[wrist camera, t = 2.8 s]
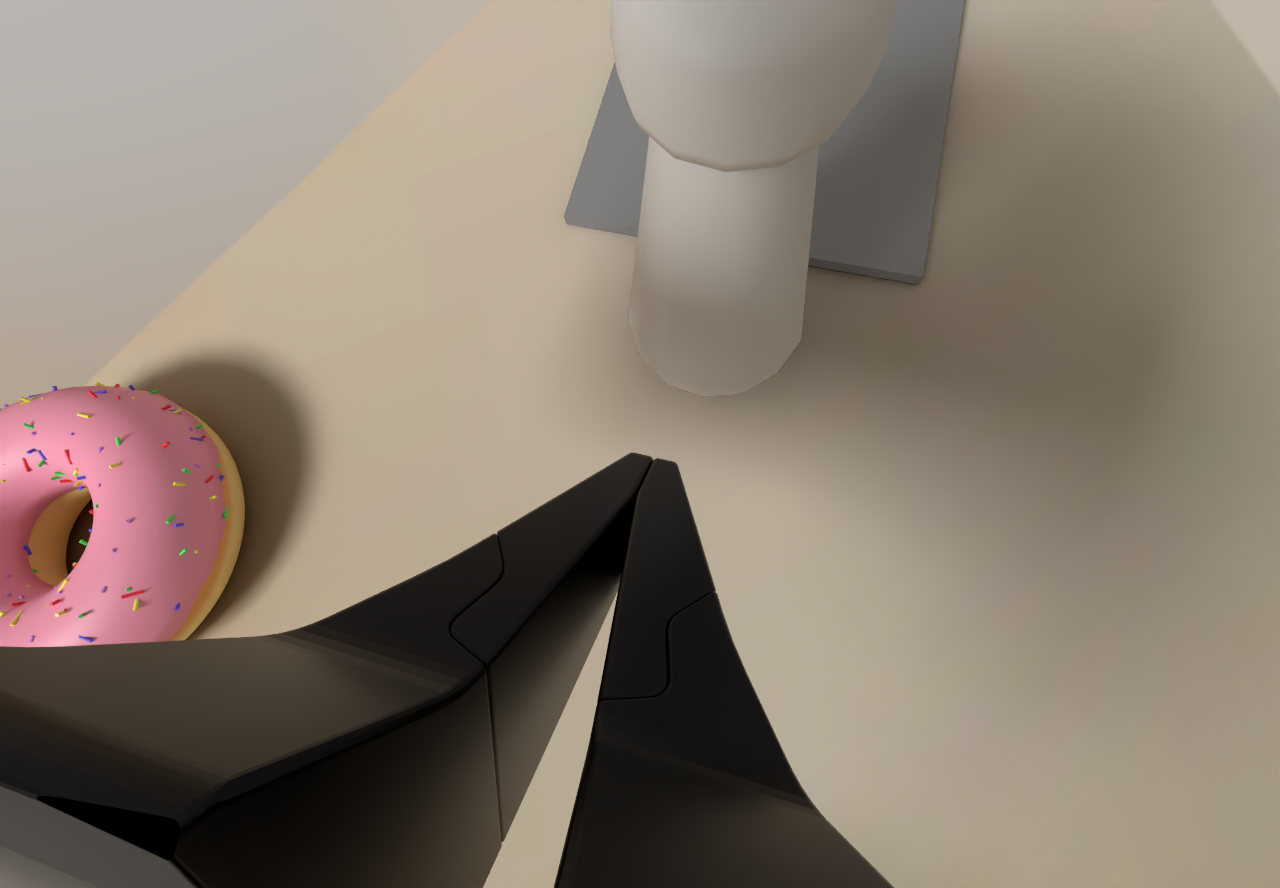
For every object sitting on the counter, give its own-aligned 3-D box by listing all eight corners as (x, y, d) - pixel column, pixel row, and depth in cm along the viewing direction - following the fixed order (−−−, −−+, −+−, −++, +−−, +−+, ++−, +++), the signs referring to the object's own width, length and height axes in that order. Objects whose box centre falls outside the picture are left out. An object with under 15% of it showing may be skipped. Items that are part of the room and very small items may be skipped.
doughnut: (-51, 583, 20) (-238, 586, 16) (144, 357, 22) (20, 308, 18) (128, 760, 18) (-37, 816, 14) (329, 493, 19) (235, 474, 15)
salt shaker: (822, 346, 19) (1090, -94, 6) (709, 447, 18) (762, 183, 6) (713, 248, 20) (758, -271, 8) (605, 340, 20) (466, -61, 7)
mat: (917, 284, 19) (923, 277, 19) (566, 224, 21) (564, 215, 21) (970, -65, 23) (976, -79, 23) (669, -89, 25) (668, -102, 25)
